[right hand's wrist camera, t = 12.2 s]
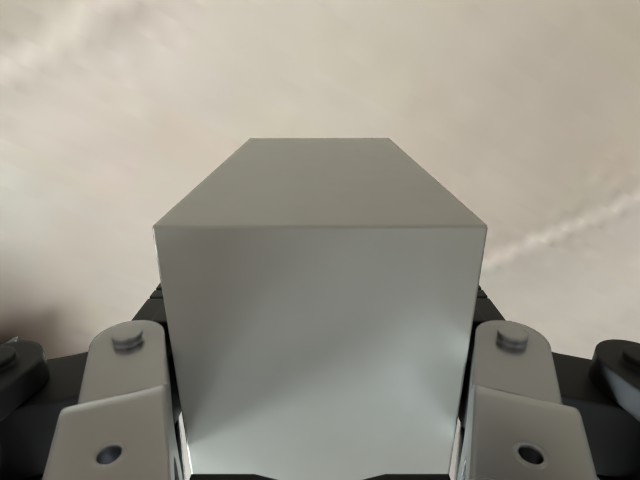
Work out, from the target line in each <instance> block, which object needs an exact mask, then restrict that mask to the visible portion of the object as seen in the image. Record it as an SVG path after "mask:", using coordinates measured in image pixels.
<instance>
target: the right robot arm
mask: <svg viewBox="0 0 640 480" xmlns="http://www.w3.org/2000/svg"><path fill="white" fill-rule="evenodd" d="M181 411H182V410H181V404H180V398H179V392H178V385H177V379H176V373H175V367H174V361H173V354H172V348H171V342H170V336H169V329H168V323H167V317H166V311H165V305H164V298H163V292H162V286H161V283H160V284H159V285H158V287H157V288H156V290H155V291H154V292H153V293H152V295H151V296H150V299H148V300H147V301H146V302H145V304H144V305H143V306H142V308H141V309H140V310H139V311H138V313H137V314H136V315H135V317H134V318H133V319H132V321H128V322H124V323H120V324H117V325H115V326H112V327H110V328H108V329H106V330H104V331H103V332H101V333H100V334H98V335H97V336H96V337H95V338H94V339H93V341H92V342H91V344H90V347H89V351H88V352H85V353H81V354H77V355H72V356H66V357H61V358H56V359H51V360H46V358H45V355H44V351H43V348H42V346H41V345H40V344H38V343H36V342H32V341H13V342H8V343H3V344H0V480H186V478H185V468H184V458H183V447H182V437H181V429H180V423H179V415H180V413H181ZM458 417H459V420H460V422H461V423H460V429H459V436H458V447H457V457H456V468H455V478H454V480H640V343H636V342H631V341H626V340H606V341H602V342H600V343H599V344H598V345H597V346H596V348H595V351H594V355H593V358H592V360H590V359H584V358H579V357H574V356H569V355H563V354H558V353H554V352H551V347H550V344H549V342H548V341H547V339H546V338H545V337H544V336H543V335H542V334H540V333H539V332H537V331H536V330H534V329H532V328H530V327H528V326H525V325H523V324H520V323H516V322H512V321H506V320H505V319H504V318H503V316H502V315H501V314H500V312H499V311H498V310H497V308H496V307H495V306H494V304H493V303H492V302H491V300H490V299H488V298H487V295H486V294H485V293H484V291H483V290H481V287H480V286H479V285H478V292H477V298H476V304H475V311H474V317H473V324H472V330H471V336H470V343H469V349H468V355H467V362H466V368H465V375H464V381H463V387H462V394H461V400H460V406H459V413H458ZM190 480H277V479H273V478H269V477H265V476H261V475H257V474H191V477H190ZM363 480H450V477H449V474H383V475H379V476H375V477H371V478H367V479H363Z"/></svg>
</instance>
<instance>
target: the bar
mask: <svg viewBox="0 0 640 480" xmlns="http://www.w3.org/2000/svg"><path fill="white" fill-rule="evenodd" d="M487 228H488V227H487V225H486V224H485V223H484V222H483V221H482V220H481V219H479V218H478V217H477V216H476V215H475V214H474V213H473V212H472V211H470V210H469V209H468V208H467V207H466V206H465V205H464V204H463V203H461V202H460V201H459V200H458V199H457V198H456V197H455V196H454V195H452V194H451V193H450V192H449V191H448V190H447V189H446V188H444V187H443V186H442V185H441V184H440V183H439V182H438V181H437V180H435V179H434V178H433V177H432V176H431V175H430V174H429V173H428V172H426V171H425V170H424V169H423V168H422V167H421V166H420V165H419V164H417V163H416V162H415V161H414V160H413V159H412V158H411V157H410V156H408V155H407V154H406V153H405V152H404V151H403V150H402V149H401V148H399V147H398V146H397V145H396V144H395V143H394V142H393V141H391V140H390V139H389V138H250V139H249V140H248V141H247V142H245V143H244V144H243V145H242V146H241V147H240V148H239V149H238V150H237V151H235V152H234V153H233V154H232V155H231V156H230V157H229V158H228V159H227V160H225V161H224V162H223V163H222V164H221V165H220V166H219V167H218V168H217V169H215V170H214V171H213V172H212V173H211V174H210V175H209V176H208V177H207V178H205V179H204V180H203V181H202V182H201V183H200V184H199V185H198V186H197V187H196V188H194V189H193V190H192V191H191V192H190V193H189V194H188V195H187V196H186V197H184V198H183V199H182V200H181V201H180V202H179V203H178V204H177V205H176V206H174V207H173V208H172V209H171V210H170V211H169V212H168V213H167V214H166V215H164V216H163V217H162V218H161V219H160V220H159V221H158V222H157V223H156V224H154V225H153V227H152V230H153V236H154V242H155V249H156V255H157V261H158V267H159V274H160V280H161V286H162V292H163V298H164V305H165V311H166V317H167V323H168V329H169V336H170V342H171V348H172V354H173V361H174V367H175V373H176V379H177V385H178V392H179V398H180V404H181V410H182V416H183V423H184V429H185V435H186V441H187V448H188V454H189V460H190V466H191V472H192V474H257V475H261V476H265V477H269V478H273V479H277V480H363V479H367V478H371V477H375V476H379V475H383V474H449V470H450V464H451V457H452V451H453V445H454V438H455V432H456V425H457V419H458V413H459V406H460V400H461V394H462V387H463V381H464V375H465V368H466V362H467V355H468V349H469V343H470V336H471V330H472V324H473V317H474V311H475V304H476V298H477V292H478V285H479V279H480V273H481V266H482V260H483V254H484V247H485V241H486V234H487Z"/></svg>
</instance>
